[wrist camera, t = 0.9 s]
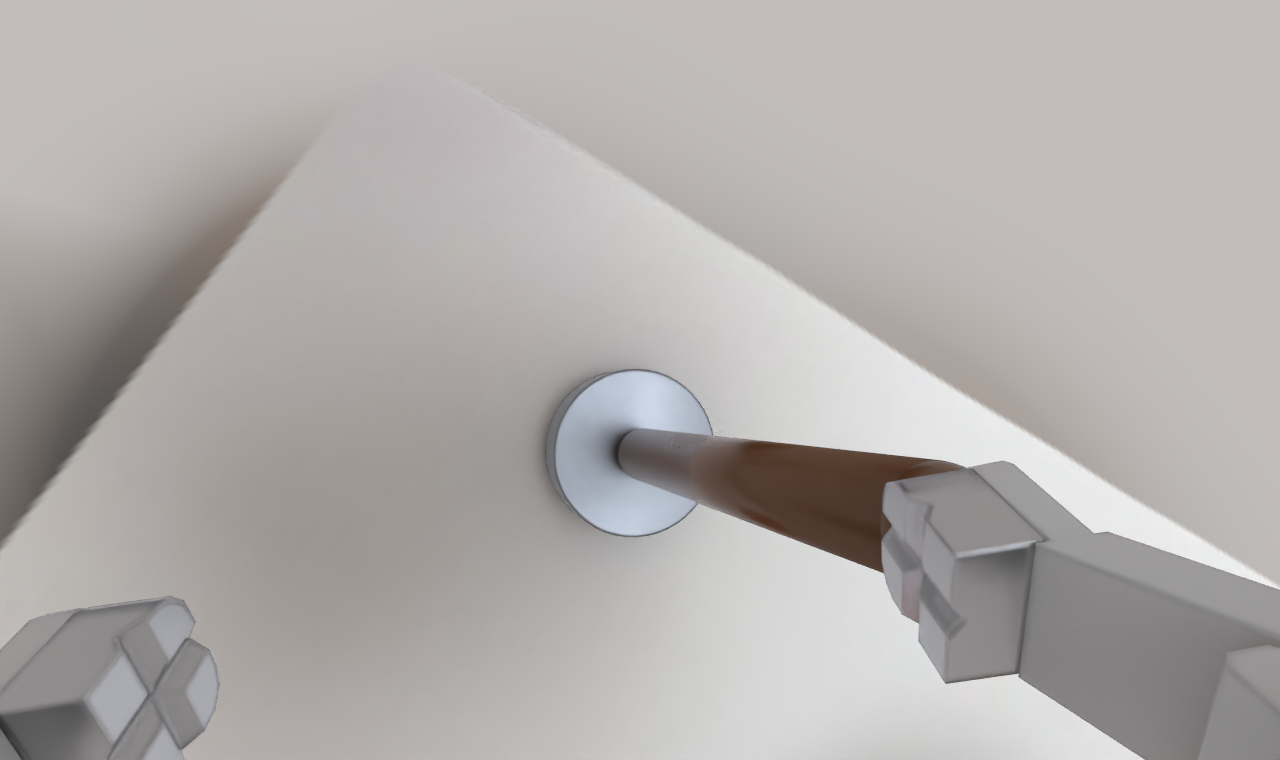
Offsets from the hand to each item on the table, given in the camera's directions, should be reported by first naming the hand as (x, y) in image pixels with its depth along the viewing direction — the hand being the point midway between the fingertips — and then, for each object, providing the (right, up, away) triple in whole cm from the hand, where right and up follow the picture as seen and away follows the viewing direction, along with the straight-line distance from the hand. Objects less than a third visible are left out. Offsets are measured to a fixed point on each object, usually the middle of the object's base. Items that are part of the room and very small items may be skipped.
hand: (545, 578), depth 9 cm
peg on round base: (+1, 0, +18) cm, 18 cm away
